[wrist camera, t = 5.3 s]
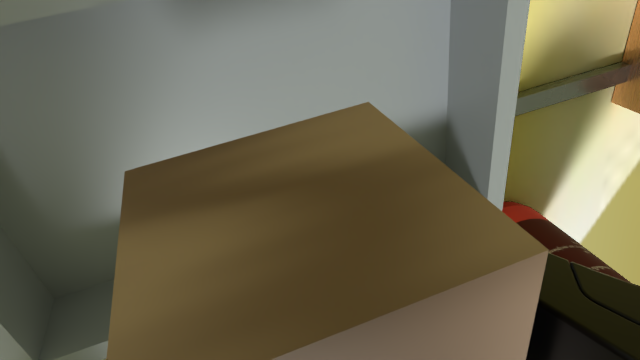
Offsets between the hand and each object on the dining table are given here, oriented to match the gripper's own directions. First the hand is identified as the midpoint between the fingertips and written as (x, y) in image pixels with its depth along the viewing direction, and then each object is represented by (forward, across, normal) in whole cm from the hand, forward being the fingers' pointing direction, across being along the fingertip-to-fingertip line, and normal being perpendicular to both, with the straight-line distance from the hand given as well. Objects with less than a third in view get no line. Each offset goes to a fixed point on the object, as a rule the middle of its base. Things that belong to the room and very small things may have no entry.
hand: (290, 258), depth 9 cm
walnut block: (+1, 0, 0) cm, 1 cm away
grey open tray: (+11, 0, 0) cm, 11 cm away
